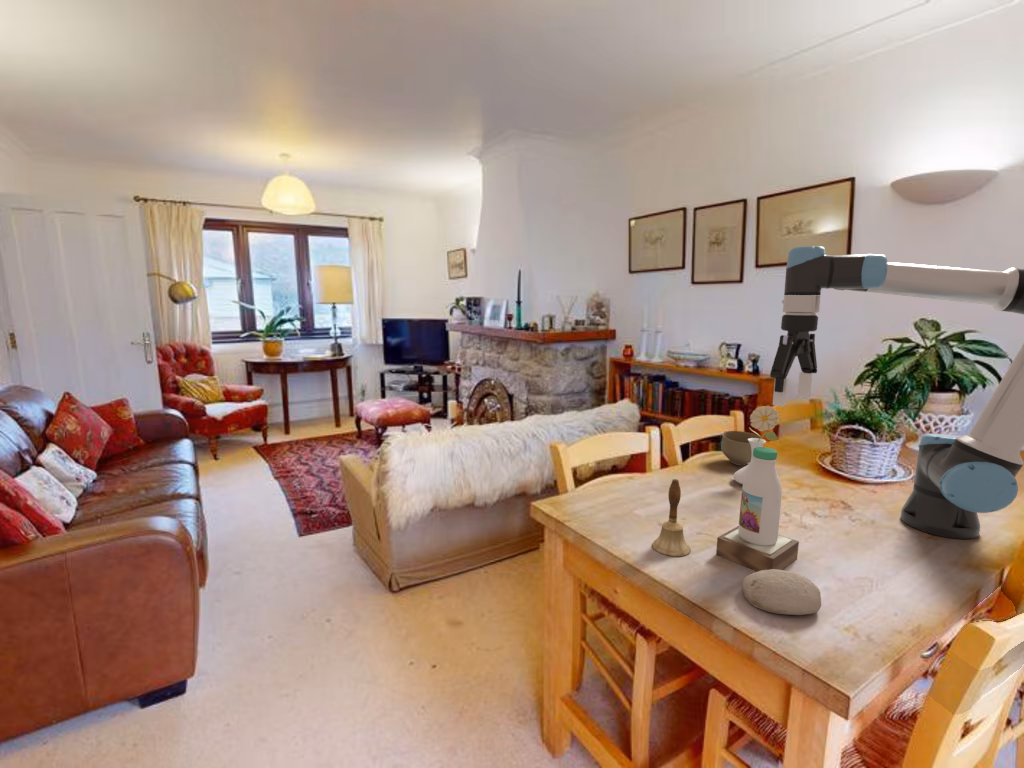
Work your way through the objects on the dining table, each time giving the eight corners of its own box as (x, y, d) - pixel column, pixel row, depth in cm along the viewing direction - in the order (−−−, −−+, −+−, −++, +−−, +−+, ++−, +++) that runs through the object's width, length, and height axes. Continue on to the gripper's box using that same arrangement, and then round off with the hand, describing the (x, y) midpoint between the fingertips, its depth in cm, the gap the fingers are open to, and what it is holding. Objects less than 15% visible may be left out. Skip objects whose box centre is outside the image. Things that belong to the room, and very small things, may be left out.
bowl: (739, 471, 166) (742, 442, 165) (711, 460, 178) (713, 432, 176) (769, 467, 171) (771, 438, 169) (739, 456, 183) (741, 429, 181)
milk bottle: (769, 531, 114) (777, 444, 111) (783, 547, 107) (792, 455, 103) (733, 529, 115) (740, 443, 112) (744, 545, 108) (752, 454, 104)
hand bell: (648, 538, 120) (651, 473, 117) (684, 539, 120) (688, 474, 117) (657, 556, 112) (661, 486, 109) (695, 557, 111) (700, 487, 109)
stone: (742, 622, 97) (741, 602, 92) (742, 573, 103) (741, 552, 98) (822, 634, 91) (825, 614, 86) (815, 582, 98) (818, 560, 93)
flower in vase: (724, 480, 159) (730, 401, 155) (753, 476, 163) (759, 398, 158) (757, 495, 147) (765, 410, 142) (787, 490, 150) (795, 407, 146)
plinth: (797, 558, 111) (799, 540, 110) (771, 577, 103) (773, 557, 103) (743, 538, 120) (744, 521, 119) (716, 554, 113) (717, 536, 112)
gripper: (805, 312, 132) (797, 393, 135) (759, 314, 116) (751, 405, 120) (837, 313, 126) (828, 398, 130) (794, 315, 111) (784, 411, 114)
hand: (791, 402), depth 125 cm, fingers open, 13 cm apart
